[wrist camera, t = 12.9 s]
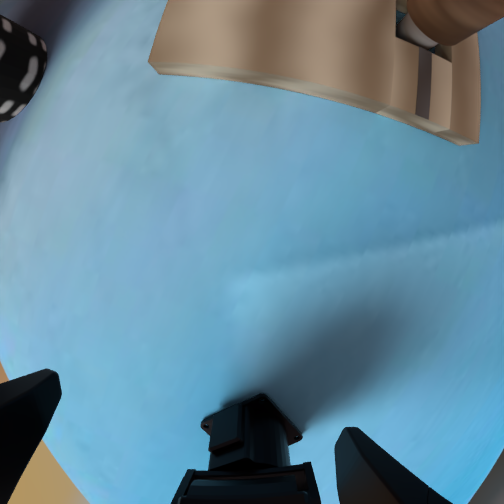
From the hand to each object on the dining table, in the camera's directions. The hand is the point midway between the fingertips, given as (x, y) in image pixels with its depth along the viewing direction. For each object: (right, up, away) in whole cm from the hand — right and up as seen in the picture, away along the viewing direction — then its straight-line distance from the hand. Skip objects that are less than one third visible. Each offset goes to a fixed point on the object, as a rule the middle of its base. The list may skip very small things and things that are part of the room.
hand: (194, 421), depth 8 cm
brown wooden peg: (+13, +21, +9) cm, 26 cm away
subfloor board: (+8, +22, +8) cm, 25 cm away
